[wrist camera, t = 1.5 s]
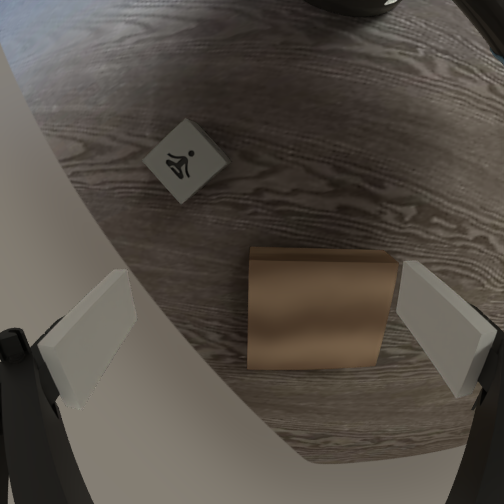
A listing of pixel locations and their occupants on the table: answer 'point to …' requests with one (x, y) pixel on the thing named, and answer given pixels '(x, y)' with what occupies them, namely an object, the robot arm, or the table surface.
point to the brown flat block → (317, 307)
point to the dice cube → (186, 160)
